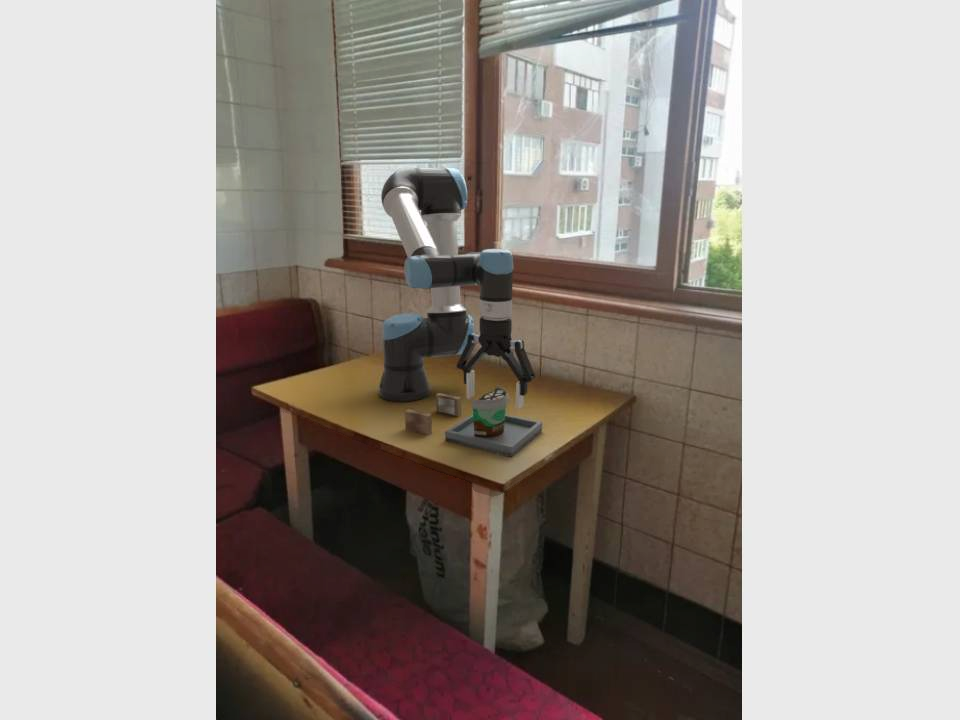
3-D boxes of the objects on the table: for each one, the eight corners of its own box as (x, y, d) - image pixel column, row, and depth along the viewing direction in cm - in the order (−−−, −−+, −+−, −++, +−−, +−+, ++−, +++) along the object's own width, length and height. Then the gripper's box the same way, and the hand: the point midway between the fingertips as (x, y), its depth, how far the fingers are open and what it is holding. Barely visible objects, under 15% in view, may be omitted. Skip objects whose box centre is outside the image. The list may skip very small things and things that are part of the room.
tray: (445, 440, 143) (445, 431, 142) (480, 417, 157) (480, 409, 156) (511, 457, 134) (511, 447, 134) (541, 431, 148) (542, 422, 148)
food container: (493, 444, 139) (493, 404, 136) (471, 438, 142) (471, 399, 139) (517, 426, 149) (518, 389, 146) (496, 421, 152) (496, 385, 149)
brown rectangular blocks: (405, 429, 149) (404, 411, 148) (439, 410, 162) (439, 392, 161) (428, 435, 146) (427, 416, 145) (461, 414, 159) (461, 397, 158)
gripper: (442, 313, 140) (443, 397, 146) (537, 327, 128) (534, 417, 134) (458, 308, 146) (459, 388, 152) (551, 320, 134) (547, 406, 141)
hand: (494, 402), depth 143 cm, fingers open, 13 cm apart
